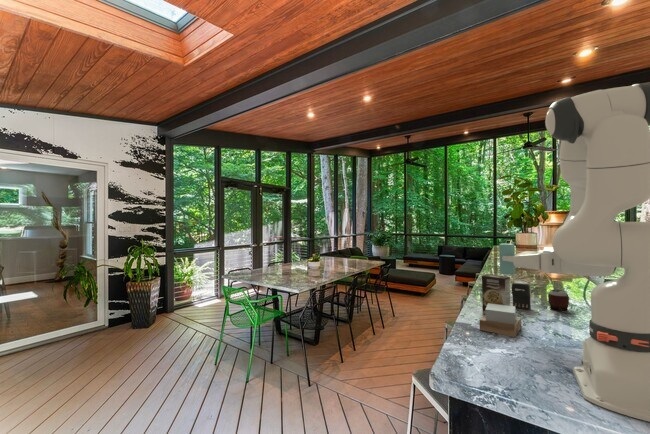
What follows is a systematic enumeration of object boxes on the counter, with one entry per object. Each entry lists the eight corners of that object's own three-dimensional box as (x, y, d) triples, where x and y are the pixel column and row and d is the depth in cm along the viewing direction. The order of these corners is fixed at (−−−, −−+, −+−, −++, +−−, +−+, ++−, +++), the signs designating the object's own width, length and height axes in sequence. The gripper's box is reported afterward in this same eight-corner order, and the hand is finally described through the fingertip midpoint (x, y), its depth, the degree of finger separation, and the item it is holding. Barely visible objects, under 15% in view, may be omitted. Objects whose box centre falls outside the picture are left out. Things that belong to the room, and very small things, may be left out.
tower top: (515, 324, 103) (514, 313, 103) (485, 320, 108) (485, 309, 108) (515, 317, 110) (515, 306, 110) (488, 313, 115) (487, 303, 115)
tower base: (514, 338, 101) (514, 326, 101) (479, 330, 108) (479, 319, 108) (521, 329, 109) (521, 318, 109) (488, 322, 116) (487, 312, 116)
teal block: (512, 275, 107) (511, 244, 107) (500, 273, 110) (499, 244, 110) (515, 273, 110) (514, 243, 110) (502, 272, 113) (502, 243, 113)
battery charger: (511, 307, 133) (510, 282, 133) (513, 305, 136) (512, 280, 136) (530, 310, 128) (529, 284, 128) (531, 308, 131) (530, 282, 131)
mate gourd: (570, 312, 124) (569, 276, 124) (547, 310, 128) (546, 275, 129) (567, 308, 131) (566, 273, 131) (545, 305, 135) (544, 272, 135)
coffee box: (481, 313, 126) (480, 275, 126) (487, 310, 130) (486, 273, 130) (506, 318, 119) (504, 278, 119) (511, 314, 123) (510, 276, 124)
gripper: (554, 248, 109) (510, 246, 118) (546, 253, 94) (497, 251, 103) (554, 265, 109) (511, 262, 118) (546, 273, 94) (497, 269, 103)
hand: (504, 257), depth 111 cm, fingers closed on teal block, 4 cm apart
